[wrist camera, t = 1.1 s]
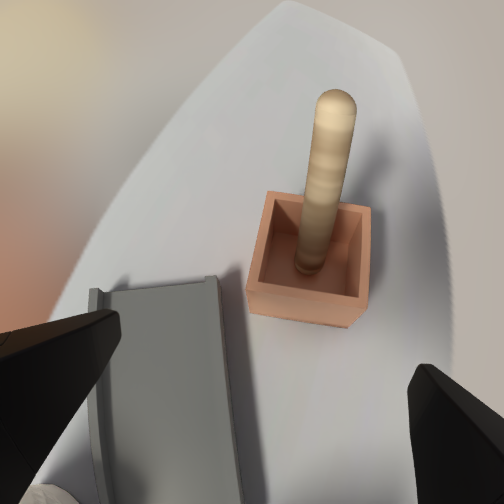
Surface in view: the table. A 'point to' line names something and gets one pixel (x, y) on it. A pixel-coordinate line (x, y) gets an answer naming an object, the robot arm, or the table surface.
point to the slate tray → (165, 400)
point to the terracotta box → (310, 286)
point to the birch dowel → (324, 178)
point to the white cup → (47, 495)
